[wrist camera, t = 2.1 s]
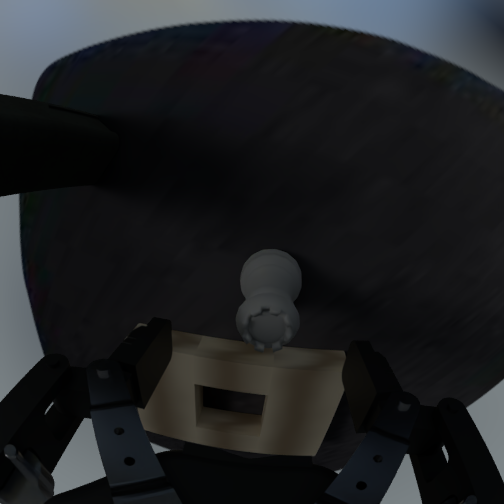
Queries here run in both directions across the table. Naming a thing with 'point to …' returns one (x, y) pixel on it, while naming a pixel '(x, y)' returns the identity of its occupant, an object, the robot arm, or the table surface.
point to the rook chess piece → (269, 299)
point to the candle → (50, 146)
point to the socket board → (250, 381)
